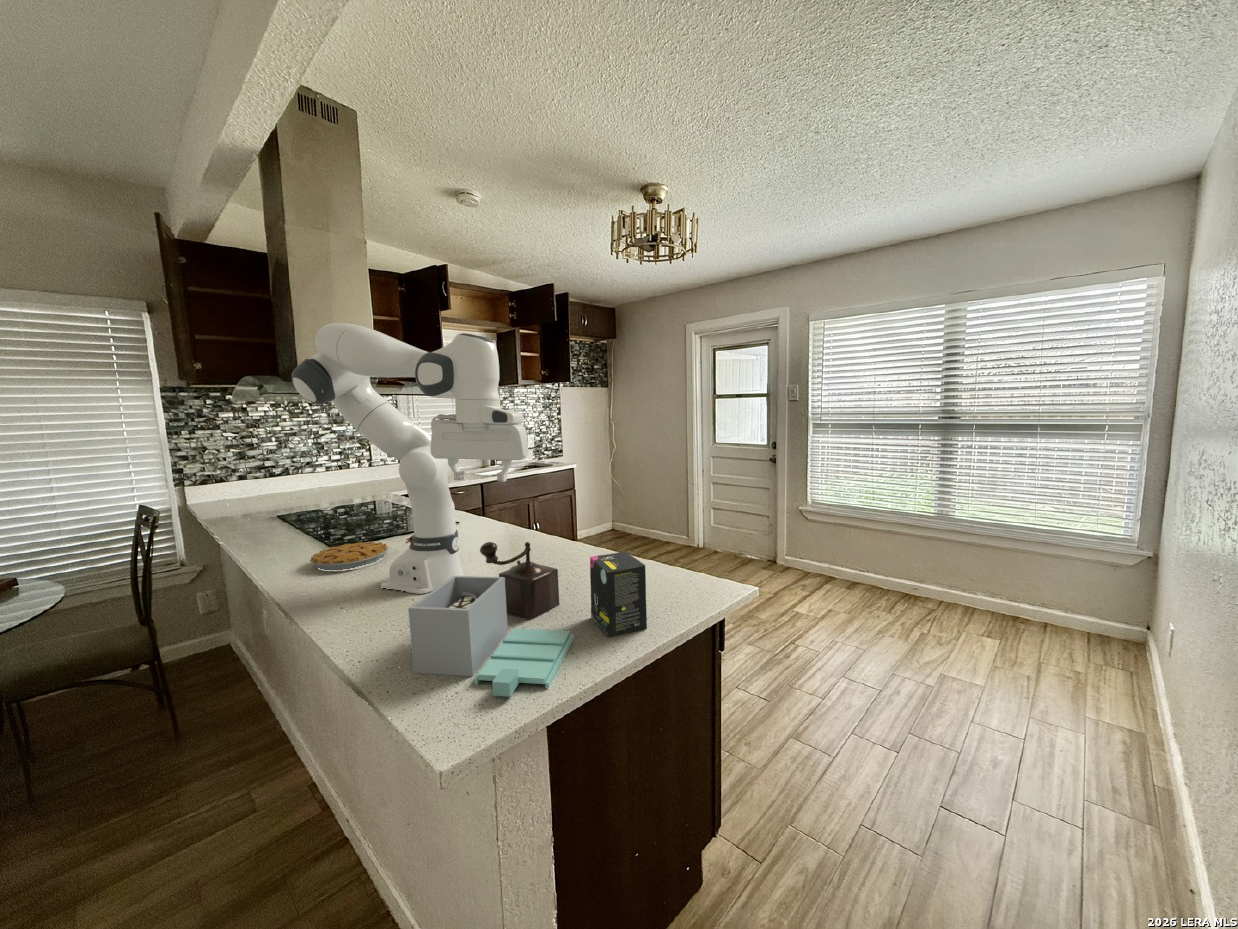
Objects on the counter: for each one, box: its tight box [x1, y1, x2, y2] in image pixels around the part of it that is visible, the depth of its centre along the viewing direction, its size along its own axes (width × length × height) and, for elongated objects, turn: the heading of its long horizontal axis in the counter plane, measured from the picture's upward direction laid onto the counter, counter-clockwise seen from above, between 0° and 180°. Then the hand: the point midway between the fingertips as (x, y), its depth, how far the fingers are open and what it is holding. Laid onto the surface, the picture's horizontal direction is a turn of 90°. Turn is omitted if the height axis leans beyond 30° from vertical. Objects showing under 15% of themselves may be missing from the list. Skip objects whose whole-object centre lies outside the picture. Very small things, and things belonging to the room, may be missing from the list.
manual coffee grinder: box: [479, 541, 560, 621], centre depth 109 cm, size 16×11×18 cm
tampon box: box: [589, 551, 648, 638], centre depth 102 cm, size 11×9×15 cm
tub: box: [408, 575, 509, 677], centre depth 92 cm, size 12×17×12 cm
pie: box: [309, 541, 389, 570], centre depth 151 cm, size 22×22×5 cm
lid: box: [473, 627, 574, 697], centre depth 86 cm, size 14×21×3 cm, turn 172°
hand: (480, 480), depth 97 cm, fingers open, 8 cm apart
